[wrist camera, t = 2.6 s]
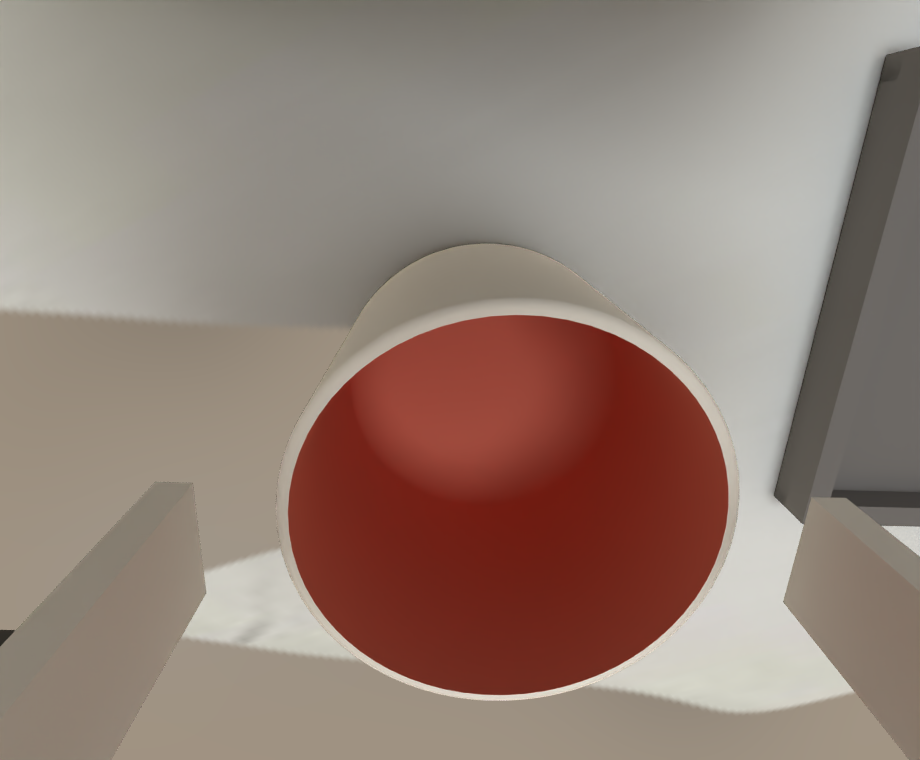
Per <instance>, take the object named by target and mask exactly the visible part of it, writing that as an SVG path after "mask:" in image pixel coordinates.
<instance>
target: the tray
mask: <svg viewBox="0 0 920 760" xmlns="http://www.w3.org/2000/svg"><path fill="white" fill-rule="evenodd" d="M774 496H775V497H776V498H777V499H778V500H779V501H780V502H781V503H782V504H783V505H784V506H785V507H786V508H787V509H788V510H789V511H790V512H791V513H792V514H793V515H794V516H795V517H796V518H797V519H798V520H799V521H800V522H801V523H802V524H804V523H805V519H806V516H807V512H808V508H809V504H810V501H811V497H828V498H847V499H848V500H849V501H851V502H852V503H853V504H854V505H856V506H857V507H858V508H859V509H861V510H862V511H863V512H864V513H866V514H867V515H868V516H869V517H871V518H872V519H873V520H874V521H876V522H877V523H878V524H879V525H881V526H920V47H916V48H912V49H908V50H904V51H901V52H897V53H893V54H889V55H887V56H886V60H885V64H884V67H883V71H882V75H881V79H880V83H879V87H878V91H877V95H876V99H875V103H874V107H873V111H872V114H871V118H870V122H869V126H868V130H867V134H866V138H865V142H864V146H863V150H862V154H861V158H860V161H859V165H858V169H857V173H856V177H855V181H854V185H853V189H852V193H851V197H850V201H849V205H848V209H847V212H846V216H845V220H844V224H843V228H842V232H841V236H840V240H839V244H838V248H837V252H836V256H835V259H834V263H833V267H832V271H831V275H830V279H829V283H828V287H827V291H826V295H825V299H824V303H823V306H822V310H821V314H820V318H819V322H818V326H817V330H816V334H815V338H814V342H813V346H812V350H811V353H810V357H809V361H808V365H807V369H806V373H805V377H804V381H803V385H802V389H801V393H800V397H799V400H798V404H797V408H796V412H795V416H794V420H793V424H792V428H791V432H790V436H789V440H788V444H787V447H786V451H785V455H784V459H783V463H782V467H781V471H780V475H779V479H778V483H777V487H776V491H775V494H774Z"/></svg>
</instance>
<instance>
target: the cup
mask: <svg viewBox="0 0 920 760" xmlns="http://www.w3.org/2000/svg"><path fill="white" fill-rule="evenodd" d="M738 505H739V472H738V467H737V461H736V455H735V449H734V446H733V443H732V440H731V437H730V434H729V430H728V427H727V425H726V423H725V421H724V418H723V416H722V414H721V412H720V410H719V408H718V406H717V404H716V403H715V401H714V399H713V398H712V396H711V395H710V393H709V391H708V390H707V388H706V387H705V385H704V384H703V383H702V382H701V380H700V379H699V378H698V377H697V375H696V374H695V373H694V372H693V371H692V369H691V368H690V367H689V366H688V365H687V364H686V363H685V362H684V361H683V360H682V359H681V358H680V357H679V356H678V355H676V354H675V353H674V352H673V351H672V350H670V349H669V348H668V347H667V346H665V345H664V344H663V343H662V342H660V341H659V340H658V339H657V338H655V337H654V336H653V335H652V334H650V333H649V332H648V331H647V330H646V329H644V328H643V327H642V326H641V325H639V324H638V323H637V322H636V321H634V320H633V319H632V318H631V317H629V316H628V315H627V314H626V313H624V312H623V311H622V310H621V309H620V308H618V307H617V306H616V305H615V304H613V303H612V302H611V301H610V300H608V299H607V298H606V297H605V296H603V295H602V294H601V293H600V292H598V291H597V290H596V289H595V288H593V287H592V286H591V285H590V284H588V283H587V282H586V281H585V280H583V279H582V278H581V277H580V276H578V275H577V274H576V273H575V272H573V271H572V270H570V269H569V268H567V267H566V266H564V265H563V264H561V263H559V262H557V261H555V260H554V259H552V258H550V257H548V256H545V255H543V254H540V253H538V252H535V251H532V250H528V249H525V248H521V247H516V246H511V245H503V244H485V243H483V244H469V245H463V246H457V247H453V248H448V249H444V250H441V251H438V252H436V253H433V254H430V255H428V256H426V257H423V258H421V259H419V260H417V261H415V262H414V263H412V264H410V265H408V266H407V267H405V268H404V269H402V270H401V271H400V272H398V273H397V274H396V275H394V276H393V277H392V278H390V279H389V280H388V281H387V282H386V283H385V284H384V285H383V286H382V287H381V288H380V289H379V290H378V291H377V292H376V293H375V294H374V295H373V296H372V298H371V299H370V300H369V301H368V303H367V304H366V306H365V307H364V308H363V310H362V311H361V313H360V315H359V317H358V318H357V320H356V322H355V323H354V325H353V327H352V328H351V330H350V332H349V334H348V335H347V337H346V339H345V341H344V342H343V344H342V346H341V347H340V349H339V351H338V352H337V354H336V356H335V358H334V359H333V361H332V363H331V364H330V366H329V368H328V369H327V371H326V373H325V375H324V376H323V378H322V380H321V381H320V383H319V385H318V387H317V388H316V390H315V392H314V393H313V395H312V397H311V399H310V400H309V402H308V404H307V405H306V407H305V409H304V410H303V412H302V414H301V415H300V417H299V419H298V421H297V423H296V425H295V427H294V429H293V431H292V433H291V436H290V438H289V440H288V443H287V446H286V449H285V452H284V455H283V459H282V462H281V467H280V472H279V477H278V482H277V495H276V519H277V532H278V537H279V542H280V546H281V551H282V555H283V558H284V561H285V564H286V567H287V569H288V572H289V575H290V577H291V579H292V581H293V583H294V585H295V587H296V589H297V591H298V593H299V595H300V597H301V599H302V600H303V602H304V603H305V605H306V606H307V608H308V609H309V611H310V612H311V614H312V615H313V616H314V617H315V619H316V620H317V621H318V622H319V623H320V624H321V626H322V627H323V628H324V629H325V630H326V631H327V632H328V633H329V634H330V635H331V636H332V637H333V638H334V639H335V640H336V641H337V642H338V643H339V644H340V645H341V646H343V647H344V648H345V649H347V650H348V651H349V652H350V653H352V654H353V655H354V656H355V657H357V658H358V659H360V660H361V661H363V662H365V663H366V664H368V665H369V666H371V667H372V668H374V669H376V670H378V671H379V672H381V673H384V674H385V675H387V676H389V677H391V678H394V679H396V680H398V681H400V682H403V683H405V684H408V685H411V686H413V687H416V688H419V689H422V690H426V691H430V692H433V693H437V694H442V695H447V696H452V697H457V698H465V699H473V700H487V701H488V700H489V701H492V700H493V701H498V700H499V701H500V700H501V701H502V700H503V701H505V700H506V701H507V700H523V699H531V698H539V697H545V696H550V695H555V694H560V693H564V692H567V691H571V690H575V689H578V688H581V687H584V686H587V685H590V684H593V683H595V682H597V681H600V680H602V679H605V678H607V677H609V676H611V675H613V674H615V673H617V672H619V671H620V670H622V669H624V668H626V667H628V666H630V665H632V664H634V663H636V662H637V661H639V660H640V659H642V658H643V657H645V656H646V655H648V654H649V653H651V652H652V651H653V650H655V649H656V648H657V647H658V646H660V645H661V644H662V643H663V642H665V641H666V640H667V639H668V638H670V637H671V636H672V635H673V634H674V633H675V632H676V631H677V630H678V629H679V628H680V627H681V626H682V625H683V624H684V623H685V622H686V621H687V620H688V618H689V617H690V616H691V615H692V614H693V612H694V611H695V610H696V609H697V608H698V607H699V605H700V604H701V602H702V601H703V599H704V598H705V596H706V595H707V593H708V592H709V590H710V589H711V588H712V586H713V584H714V582H715V580H716V578H717V576H718V574H719V573H720V571H721V569H722V567H723V565H724V562H725V559H726V557H727V554H728V551H729V549H730V546H731V543H732V539H733V535H734V531H735V527H736V522H737V515H738Z"/></svg>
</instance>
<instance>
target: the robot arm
mask: <svg viewBox="0 0 920 760" xmlns="http://www.w3.org/2000/svg"><path fill="white" fill-rule="evenodd" d="M205 594H206V587H205V578H204V570H203V562H202V555H201V546H200V537H199V529H198V521H197V513H196V504H195V496H194V487H193V483H178V482H177V483H176V482H155V483H154V484H153V485H152V486H151V487H150V488H149V489H148V490H147V491H146V492H145V493H144V494H143V495H142V497H141V498H140V499H139V500H138V501H137V502H136V503H135V504H134V505H133V506H132V507H131V508H130V509H129V511H128V512H127V513H126V514H125V515H124V516H123V517H122V518H121V519H120V520H119V521H118V522H117V523H116V524H115V525H114V526H113V527H112V528H111V529H110V531H109V532H108V533H107V534H106V535H105V536H104V537H103V538H102V539H101V540H100V541H99V542H98V543H97V544H96V545H95V547H94V548H93V549H92V550H91V551H90V552H89V553H88V554H87V555H86V556H85V557H84V558H83V559H82V560H81V561H80V562H79V564H78V565H77V566H76V567H75V568H74V569H73V570H72V571H71V572H70V573H69V574H68V575H67V576H66V577H65V578H64V579H63V580H62V582H61V583H60V584H59V585H58V586H57V587H56V588H55V589H54V590H53V591H52V592H51V593H50V594H49V595H48V596H47V598H45V600H44V601H43V602H42V603H41V604H40V605H39V606H38V607H37V608H36V609H35V610H34V611H33V613H32V614H31V615H29V617H28V618H27V619H26V620H25V621H24V622H23V623H22V624H21V625H20V626H19V627H18V628H17V629H16V630H0V760H111V759H112V758H113V756H114V754H115V752H116V751H117V749H118V747H119V745H120V743H121V742H122V740H123V738H124V736H125V735H126V733H127V731H128V729H129V728H130V726H131V724H132V722H133V721H134V719H135V717H136V715H137V714H138V712H139V710H140V708H141V707H142V705H143V703H144V701H145V700H146V698H147V696H148V694H149V692H150V691H151V689H152V687H153V685H154V684H155V682H156V680H157V678H158V677H159V675H160V673H161V671H162V670H163V668H164V666H165V664H166V662H167V661H168V659H169V657H170V656H171V654H172V652H173V650H174V649H175V647H176V645H177V643H178V642H179V640H180V638H181V636H182V635H183V633H184V631H185V629H186V628H187V626H188V624H189V622H190V620H191V619H192V617H193V615H194V613H195V612H196V610H197V608H198V606H199V605H200V603H201V601H202V599H203V598H204V596H205ZM783 602H784V604H785V605H786V606H787V607H788V609H789V610H790V611H791V612H792V614H793V615H794V616H795V617H796V619H797V620H798V621H799V622H800V624H801V625H802V626H803V627H804V629H805V630H806V631H807V632H808V634H809V635H810V636H811V637H812V639H813V640H814V641H815V643H816V644H817V645H818V646H819V648H820V649H821V650H822V651H823V653H824V654H825V655H826V656H827V658H828V659H829V660H830V661H831V663H832V664H833V665H834V666H835V668H836V669H837V670H838V671H839V673H840V674H841V675H842V676H843V678H844V679H845V680H846V681H847V683H848V684H849V685H850V686H851V688H852V689H853V690H854V691H855V693H856V694H857V695H858V696H859V698H860V699H861V700H862V701H863V703H864V704H865V705H866V706H867V707H868V709H869V710H870V711H871V713H872V714H873V715H874V716H875V718H876V719H877V720H878V721H879V723H880V724H881V725H882V726H883V728H884V729H885V730H886V731H887V733H888V734H889V735H890V736H891V738H892V739H893V740H894V741H895V743H896V744H897V745H898V746H899V748H900V749H901V750H902V751H903V753H904V754H905V755H906V756H907V758H908V759H909V760H920V557H919V556H918V555H917V554H916V553H914V552H913V551H912V550H911V549H909V548H908V547H907V546H906V545H904V544H903V543H902V542H901V541H899V540H898V539H897V538H896V537H894V536H893V535H892V534H891V533H889V532H888V531H887V530H886V529H884V528H883V527H882V526H881V525H879V524H878V523H877V522H876V521H874V520H873V519H872V518H871V517H869V516H868V515H867V514H866V513H864V512H863V511H862V510H861V509H859V508H858V507H857V506H856V505H854V504H853V503H852V502H851V501H849V500H848V499H847V498H828V497H811V501H810V504H809V508H808V512H807V516H806V519H805V523H804V527H803V530H802V534H801V538H800V541H799V545H798V549H797V553H796V556H795V560H794V564H793V567H792V571H791V575H790V578H789V582H788V586H787V590H786V593H785V597H784V601H783Z"/></svg>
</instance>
